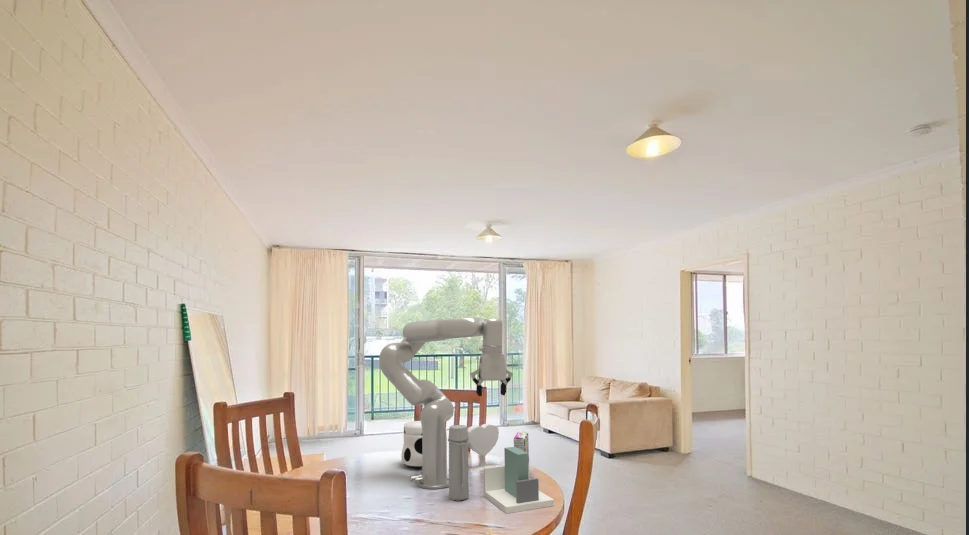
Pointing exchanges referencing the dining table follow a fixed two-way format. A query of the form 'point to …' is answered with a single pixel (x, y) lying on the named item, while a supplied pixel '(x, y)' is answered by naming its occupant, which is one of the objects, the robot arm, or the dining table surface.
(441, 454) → the robot arm
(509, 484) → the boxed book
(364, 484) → the dining table surface
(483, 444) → the heart sculpture
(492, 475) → the shelf
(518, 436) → the candy bar box
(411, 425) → the milk container
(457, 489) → the water bottle
